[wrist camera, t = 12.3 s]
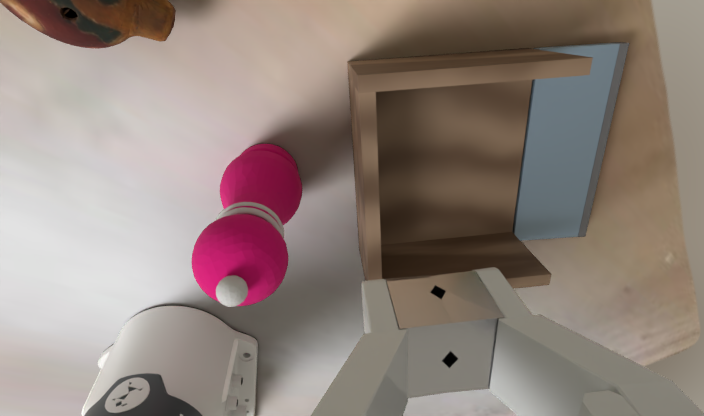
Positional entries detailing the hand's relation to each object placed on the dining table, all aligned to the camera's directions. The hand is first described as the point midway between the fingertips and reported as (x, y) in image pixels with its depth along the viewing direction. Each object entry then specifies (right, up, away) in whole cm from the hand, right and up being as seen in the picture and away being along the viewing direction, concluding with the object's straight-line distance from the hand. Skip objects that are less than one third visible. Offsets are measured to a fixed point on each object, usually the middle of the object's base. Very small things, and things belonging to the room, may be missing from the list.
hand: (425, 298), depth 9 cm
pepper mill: (-10, +6, +31) cm, 33 cm away
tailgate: (+16, +7, +31) cm, 36 cm away
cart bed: (+7, +7, +32) cm, 33 cm away
